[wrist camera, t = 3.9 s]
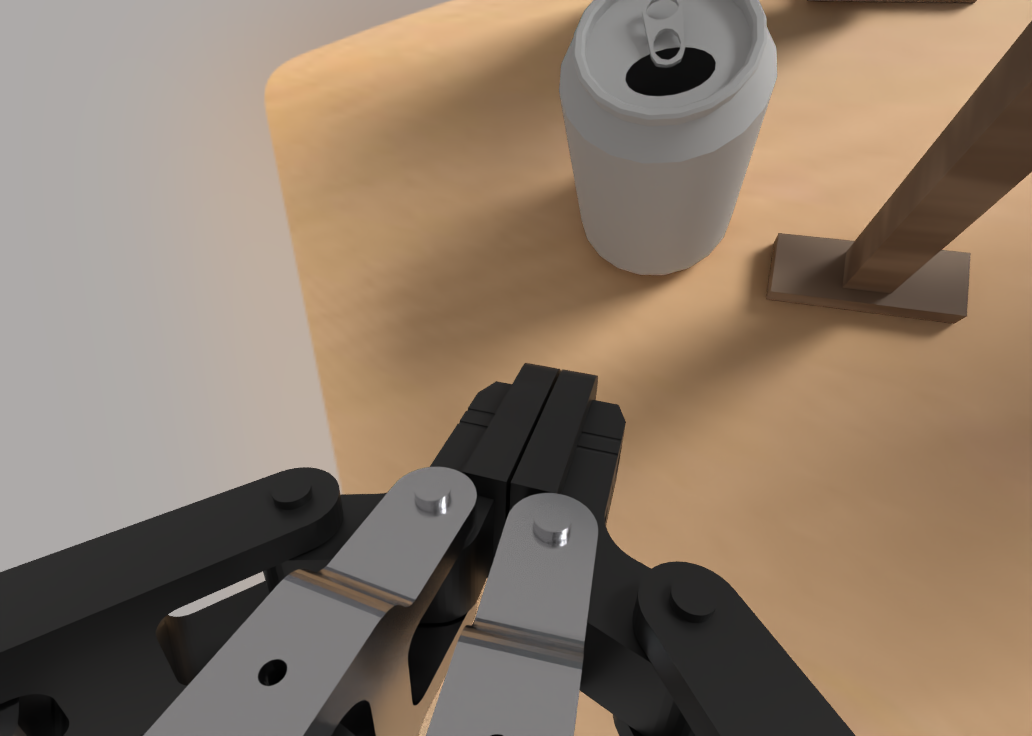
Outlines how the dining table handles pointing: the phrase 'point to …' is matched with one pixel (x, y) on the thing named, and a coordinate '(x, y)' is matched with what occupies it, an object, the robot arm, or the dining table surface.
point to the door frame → (923, 211)
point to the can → (664, 123)
